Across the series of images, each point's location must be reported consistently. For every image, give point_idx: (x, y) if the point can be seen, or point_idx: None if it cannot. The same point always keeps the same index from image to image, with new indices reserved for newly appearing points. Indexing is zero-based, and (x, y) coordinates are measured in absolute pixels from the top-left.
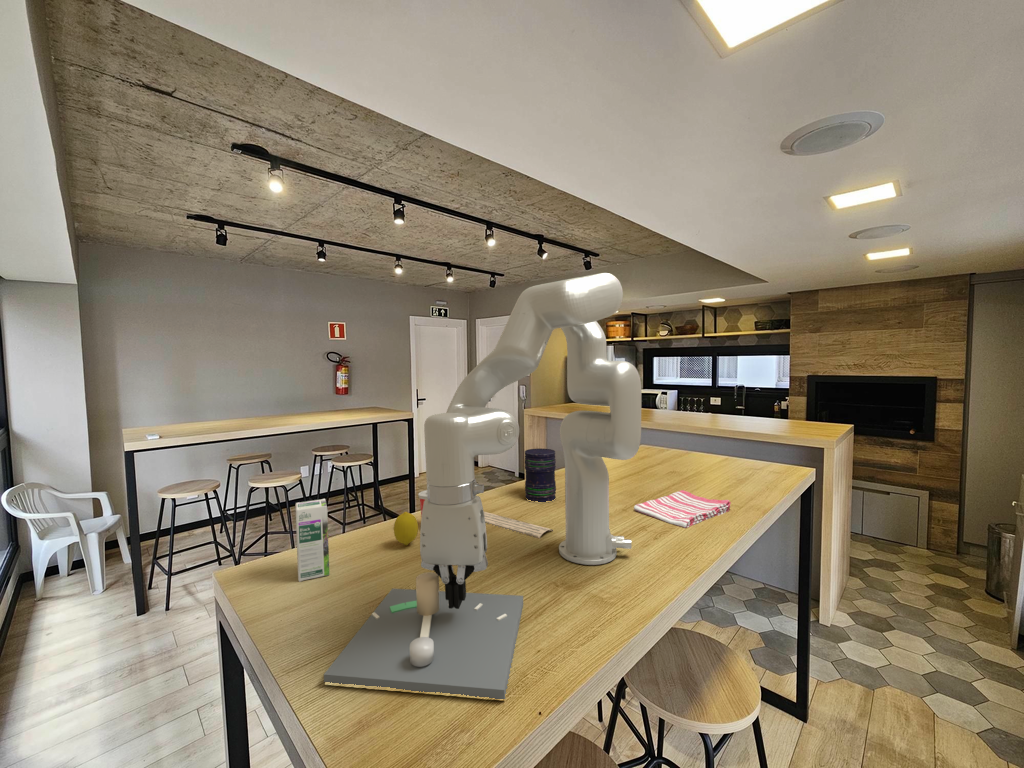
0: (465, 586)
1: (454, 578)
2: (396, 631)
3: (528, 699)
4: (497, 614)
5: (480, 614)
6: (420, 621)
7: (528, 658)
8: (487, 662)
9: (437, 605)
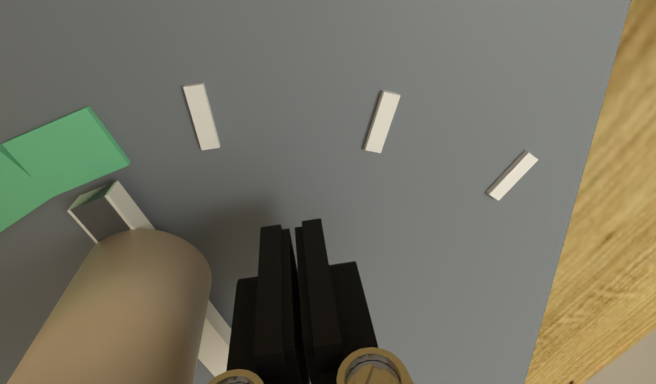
0: (366, 307)
1: (289, 376)
2: None
3: (552, 367)
4: (488, 155)
5: (405, 178)
6: None
7: (571, 271)
8: (471, 369)
9: (207, 304)
